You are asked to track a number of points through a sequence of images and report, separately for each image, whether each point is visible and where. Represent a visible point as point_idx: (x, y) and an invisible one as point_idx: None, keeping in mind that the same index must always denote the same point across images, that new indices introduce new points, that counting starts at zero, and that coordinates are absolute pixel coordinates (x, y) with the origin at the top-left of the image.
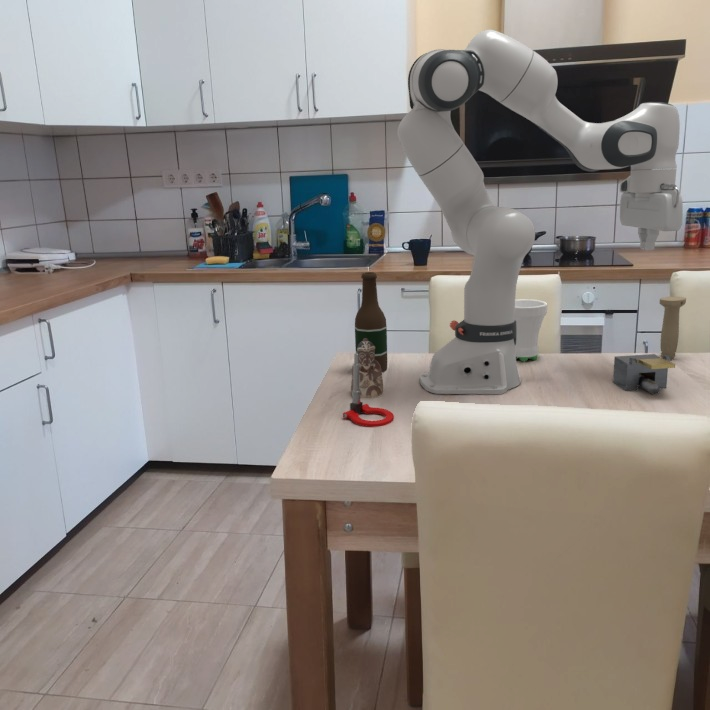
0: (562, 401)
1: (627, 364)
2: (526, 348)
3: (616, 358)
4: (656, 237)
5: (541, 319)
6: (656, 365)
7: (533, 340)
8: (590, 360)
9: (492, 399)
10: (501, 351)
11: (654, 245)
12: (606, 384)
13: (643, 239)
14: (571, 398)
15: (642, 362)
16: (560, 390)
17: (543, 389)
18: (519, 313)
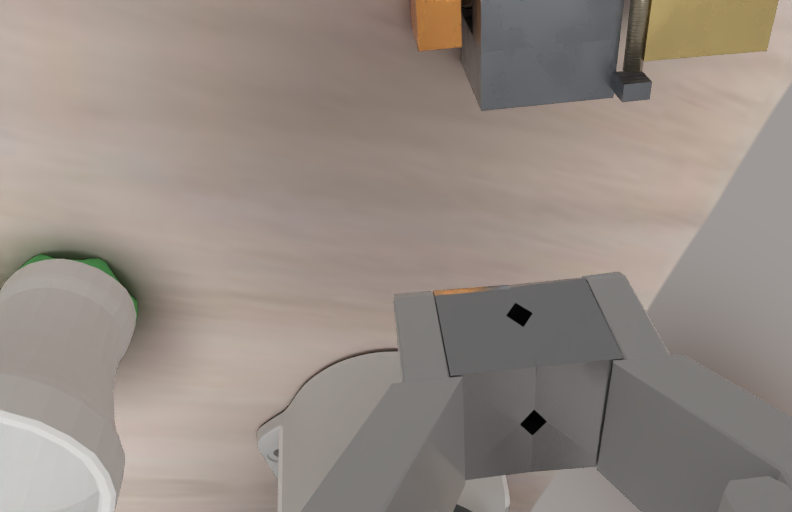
0: None
1: (611, 96)
2: (122, 332)
3: (500, 106)
4: (776, 425)
5: (62, 376)
6: (771, 26)
7: (99, 331)
8: (89, 42)
9: None
10: (502, 507)
11: (645, 311)
12: None
13: (451, 482)
14: (600, 248)
15: (678, 56)
16: (513, 260)
17: None
18: (119, 491)
